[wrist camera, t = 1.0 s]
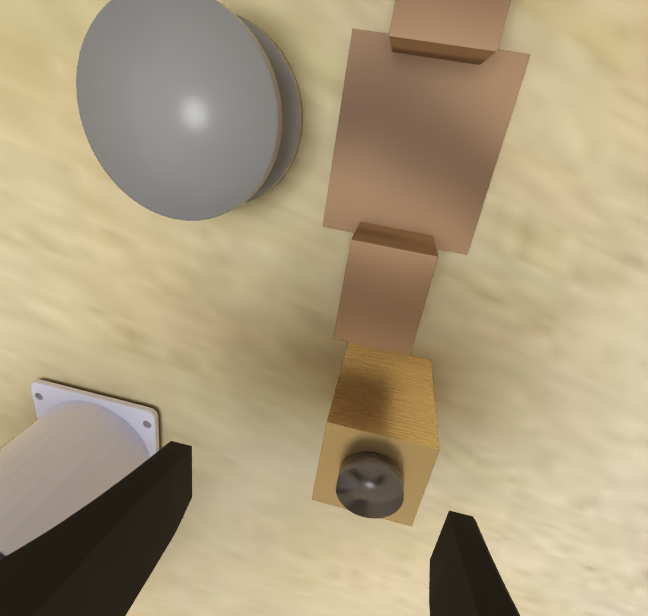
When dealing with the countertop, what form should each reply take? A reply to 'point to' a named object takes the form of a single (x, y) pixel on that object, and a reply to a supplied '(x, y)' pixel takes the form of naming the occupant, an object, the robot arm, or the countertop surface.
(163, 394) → the countertop surface
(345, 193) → the notched board
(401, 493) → the golden wooden block
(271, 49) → the grey yo-yo
